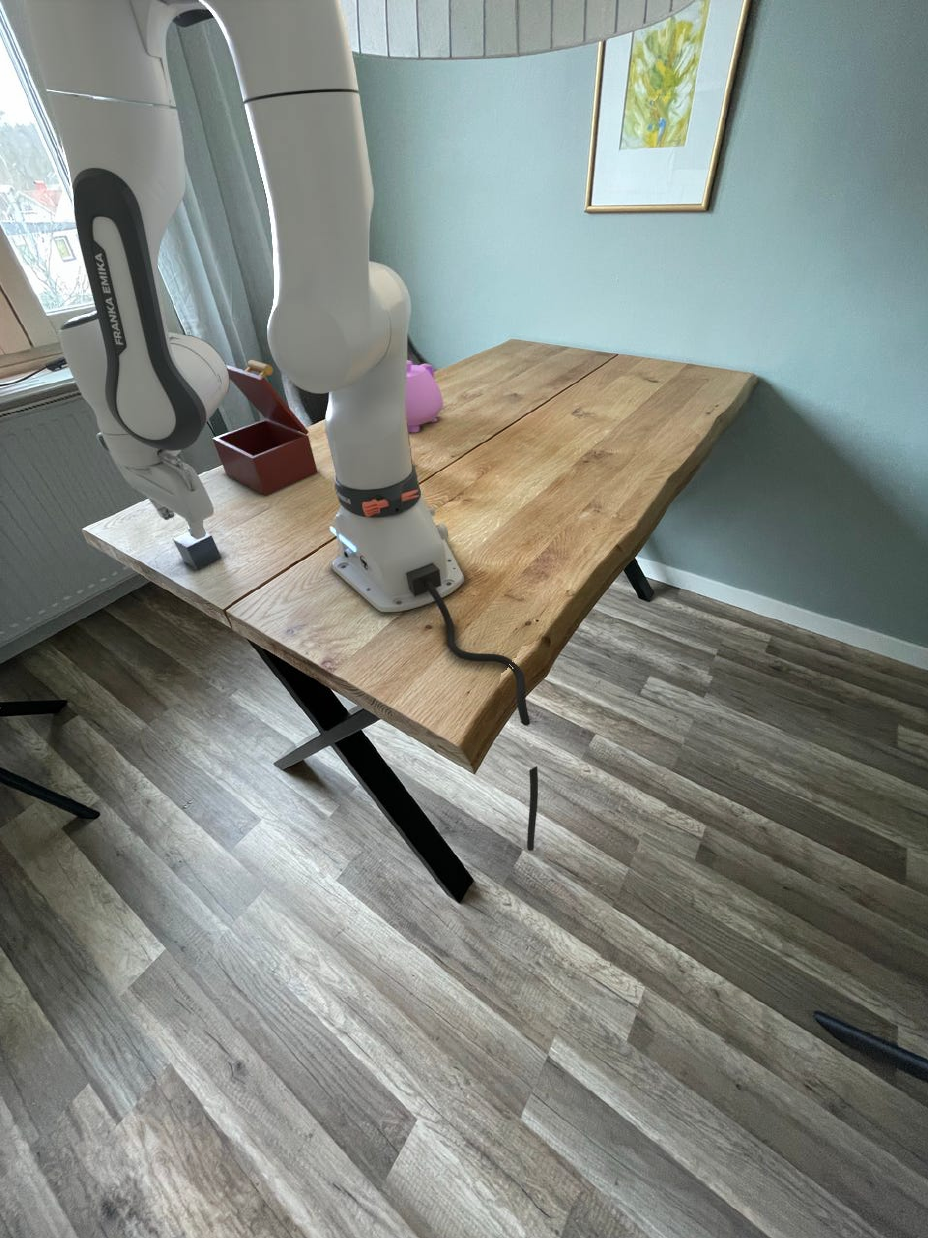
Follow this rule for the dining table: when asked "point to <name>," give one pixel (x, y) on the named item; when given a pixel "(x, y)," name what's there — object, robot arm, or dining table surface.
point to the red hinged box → (266, 456)
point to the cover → (264, 394)
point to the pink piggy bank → (421, 396)
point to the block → (197, 550)
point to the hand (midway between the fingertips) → (183, 526)
